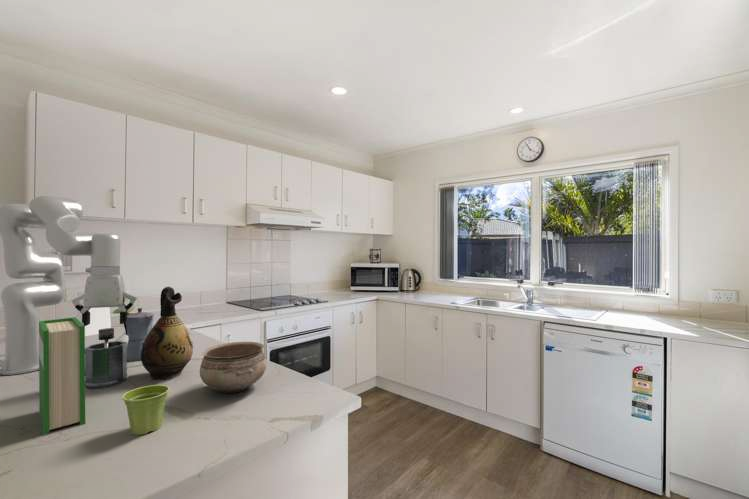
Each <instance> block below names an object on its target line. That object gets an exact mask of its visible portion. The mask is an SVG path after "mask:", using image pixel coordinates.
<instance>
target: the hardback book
mask: <svg viewBox="0 0 749 499" xmlns="http://www.w3.org/2000/svg"><path fill="white" fill-rule="evenodd" d="M85 337H86V336H85V326H84V325H83V324H82V323H81V322H80V321H79V320H78V319H77V316H75V317H66V318H57V319H47V320H42V321H39V370H38V371H39V372H38V373H39V374H38V376H39V377H38V379H39V380H38V381H39V387H38V388H39V389H38V390H39V393H38V394H39V398H38V399H39V401H38V402H39V403H38V404H39V405H38V406H39V407H38V408H39V411H38V412H39V418H40V422H41V428H42V433H43V436H47V435H50V431H51V430H54V429H58V428H62V427H65V426H70V425H72V424H76V423H79V425H80V426H82V425H86V388H85V348H86V347H85V346H86V338H85Z"/></svg>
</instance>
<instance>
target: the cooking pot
mask: <svg viewBox="0 0 749 499" xmlns="http://www.w3.org/2000/svg"><path fill="white" fill-rule="evenodd" d="M264 348H265V345H264V344H263V343H261V342H256V341H234V342H226V343H221V344H217V345H213V346H210V347H208V348H206V349H204V350H202V352H201V354H202V355H203V359H202V360H201V364H200V367H199V377H200V378H201V381H202V383H203V384H205V385H206V386H207V387H208V388H211V389H214V390H216V391H218V392H222V393H225V394H236V393H241V392H243V391H245V390H247V388H249V387H251V386H252V385H254V384H255V383H257V382H258V381H259V380H260V379H261V378H262V377H263V375H264V374H265V372H266V369H267V365H268V363H267V358H266V355H265V352H264Z"/></svg>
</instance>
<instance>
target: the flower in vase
mask: <svg viewBox="0 0 749 499" xmlns="http://www.w3.org/2000/svg"><path fill="white" fill-rule="evenodd" d="M125 293H127V292H126V291H125ZM127 301H128V299H127V298H125V302H124V304H126V302H127ZM134 310H135V305H133V306H132V307H131V308H129V309H128V310H127V312H128V313H132V311H134ZM120 312H121V309H119V308H116V309H115V310H114V311H113V312H112V314H117V315H119V314H120ZM128 340H129V339H128V335H126V332H125V331H124V332H123V333H122V334H121V335H120V336H119V337H117V338H116V339H115V341H122V342H127V344H128Z"/></svg>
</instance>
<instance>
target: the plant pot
mask: <svg viewBox="0 0 749 499" xmlns="http://www.w3.org/2000/svg"><path fill="white" fill-rule="evenodd" d="M169 391H170V386H168V385H166V384H165V385H163V384H153V385H147V386H142V387H141V386H140V387H138V388H134V389H131V390H129V391H127V392H125V393H124V394H122V396H121V399H122V401H124V404H125V407H126V410H127V416H128V421H129V422H128V423H129V428H130V432H131V433H132V434H133V435H145V434H148V433H149V432H154V431H156V430H158V429H159V428H160V427H162V423H163V416H164V410H165V406H166V405H165V404H166V398H167V397H168V393H169Z"/></svg>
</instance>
